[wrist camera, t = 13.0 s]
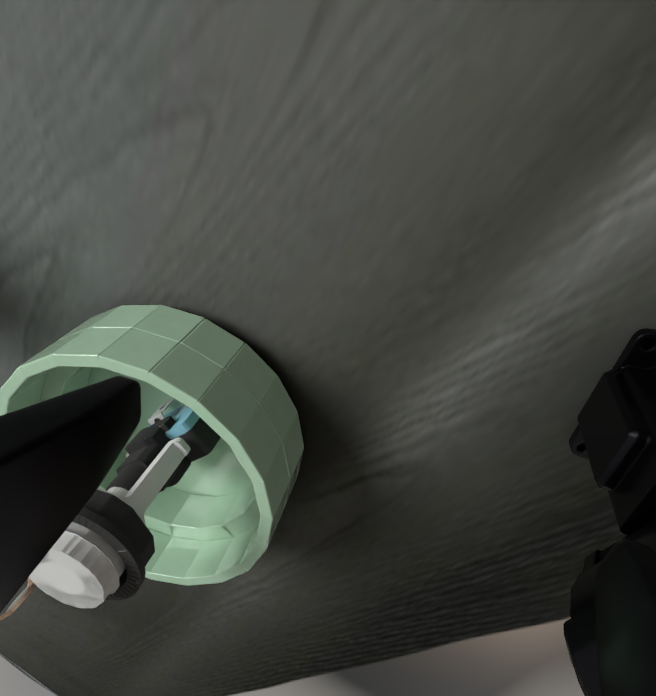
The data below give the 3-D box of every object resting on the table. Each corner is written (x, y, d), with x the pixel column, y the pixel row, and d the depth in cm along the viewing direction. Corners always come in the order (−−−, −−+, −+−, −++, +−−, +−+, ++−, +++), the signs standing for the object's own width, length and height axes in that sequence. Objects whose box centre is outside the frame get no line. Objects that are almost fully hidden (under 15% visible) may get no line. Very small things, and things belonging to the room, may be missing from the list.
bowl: (328, 347, 23) (292, 417, 19) (286, 535, 31) (253, 618, 26) (59, 266, 25) (-34, 313, 20) (82, 464, 33) (18, 530, 28)
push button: (173, 473, 30) (56, 635, 21) (112, 407, 28) (-40, 554, 20) (253, 438, 27) (152, 611, 18) (189, 362, 25) (48, 513, 17)
